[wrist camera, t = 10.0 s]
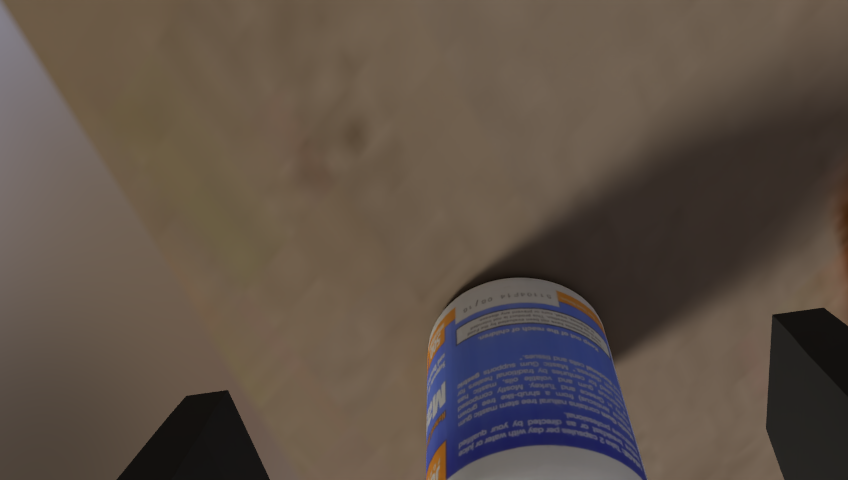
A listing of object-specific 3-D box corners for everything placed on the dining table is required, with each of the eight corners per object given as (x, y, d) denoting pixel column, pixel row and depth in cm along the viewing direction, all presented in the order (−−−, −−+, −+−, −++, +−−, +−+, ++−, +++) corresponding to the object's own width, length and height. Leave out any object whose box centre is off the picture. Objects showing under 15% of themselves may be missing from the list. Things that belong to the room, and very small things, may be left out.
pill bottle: (403, 297, 22) (380, 615, 14) (585, 249, 21) (672, 563, 13) (458, 421, 25) (466, 747, 17) (622, 385, 24) (713, 713, 16)
